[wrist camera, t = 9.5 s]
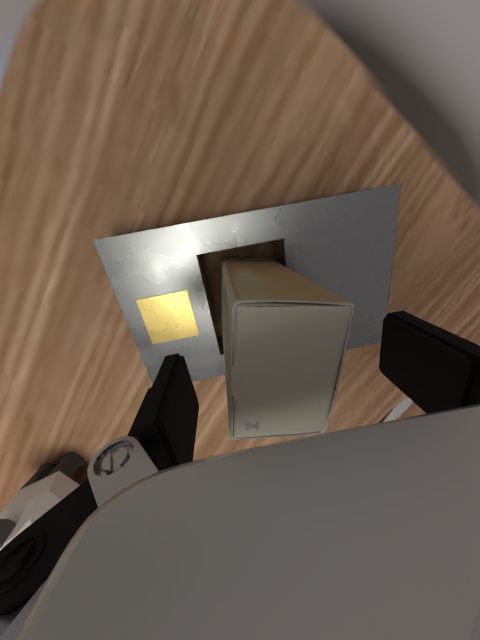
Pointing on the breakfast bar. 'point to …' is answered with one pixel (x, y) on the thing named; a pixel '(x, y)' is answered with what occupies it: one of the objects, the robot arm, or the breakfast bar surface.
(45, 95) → the breakfast bar surface
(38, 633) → the robot arm
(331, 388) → the skincare box
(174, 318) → the grey slotted base block
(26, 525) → the giant panda
